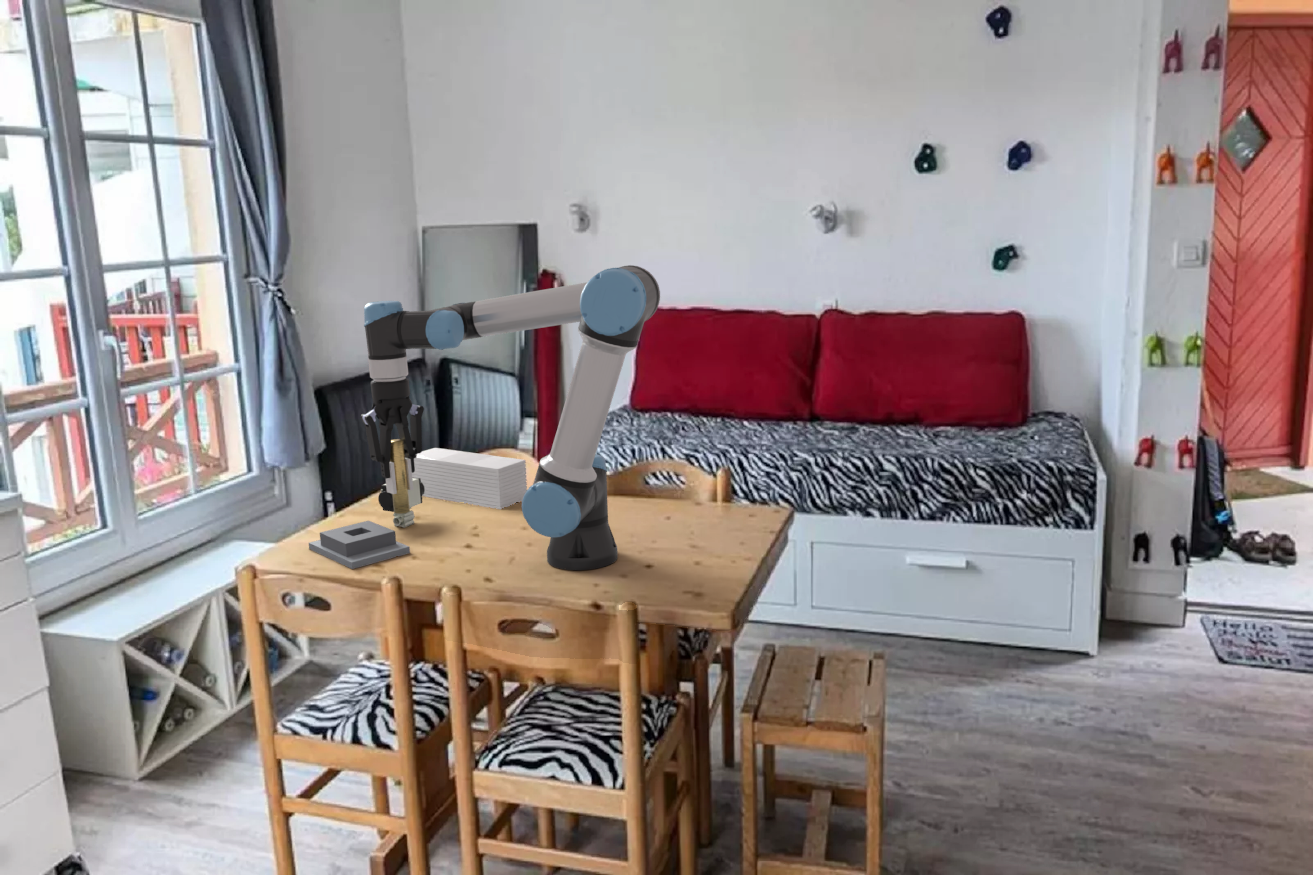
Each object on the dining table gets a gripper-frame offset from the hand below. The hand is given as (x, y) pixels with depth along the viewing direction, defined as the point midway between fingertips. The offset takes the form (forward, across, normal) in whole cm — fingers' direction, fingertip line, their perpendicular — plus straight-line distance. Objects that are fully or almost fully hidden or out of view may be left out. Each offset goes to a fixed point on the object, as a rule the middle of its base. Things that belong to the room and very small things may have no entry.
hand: (400, 490), depth 214 cm
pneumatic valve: (+18, -17, -30) cm, 39 cm away
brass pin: (+4, 0, 0) cm, 4 cm away
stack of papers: (+18, -42, -40) cm, 61 cm away
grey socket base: (+17, 0, -20) cm, 27 cm away
